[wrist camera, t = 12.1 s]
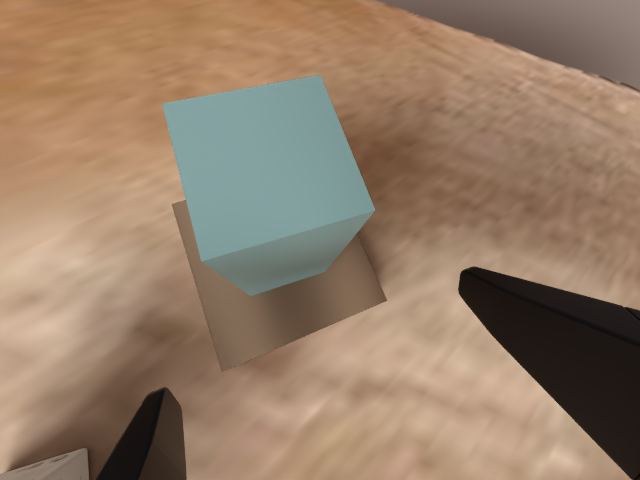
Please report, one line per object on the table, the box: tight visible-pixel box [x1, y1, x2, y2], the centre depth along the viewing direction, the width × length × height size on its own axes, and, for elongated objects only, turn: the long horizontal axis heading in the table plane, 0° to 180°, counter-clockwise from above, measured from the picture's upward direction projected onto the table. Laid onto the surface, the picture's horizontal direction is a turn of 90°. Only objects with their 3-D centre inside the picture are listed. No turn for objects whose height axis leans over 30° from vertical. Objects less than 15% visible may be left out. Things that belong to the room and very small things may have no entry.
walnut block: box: [172, 200, 387, 372], centre depth 19 cm, size 10×10×3 cm
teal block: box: [162, 75, 376, 296], centre depth 12 cm, size 4×4×10 cm
